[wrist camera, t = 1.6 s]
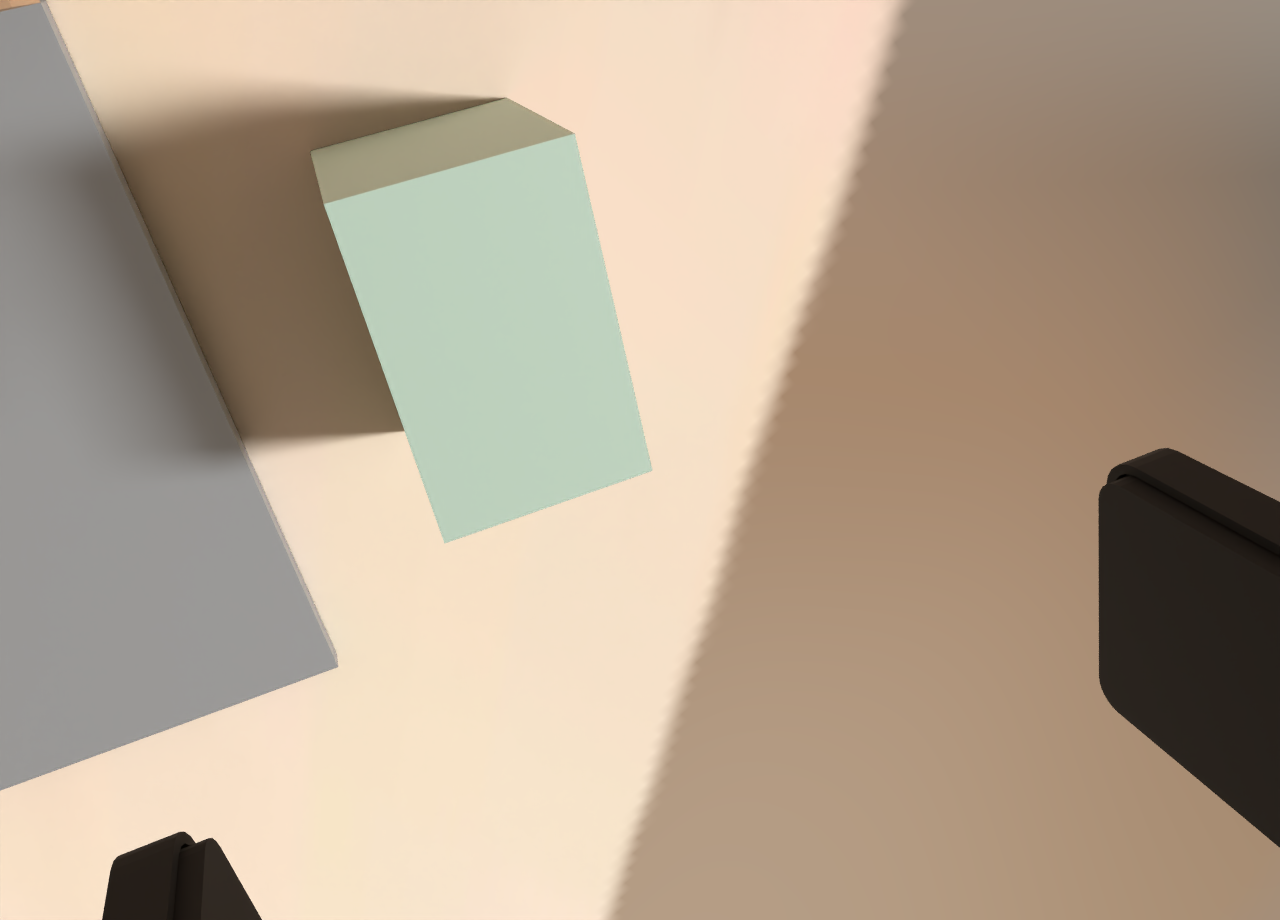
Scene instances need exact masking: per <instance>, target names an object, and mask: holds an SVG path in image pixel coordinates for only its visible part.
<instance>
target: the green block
mask: <svg viewBox="0 0 1280 920" xmlns="http://www.w3.org/2000/svg"><path fill="white" fill-rule="evenodd" d="M310 153H311V157H312V161H313V165H314V169H315V173H316V176H317V180H318V184H319V188H320V192H321V196H322V200H323V203H324V206H325V209H326V212H327V215H328V218H329V220H330V223H331V226H332V229H333V232H334V234H335V237H336V240H337V243H338V246H339V248H340V251H341V254H342V257H343V260H344V263H345V265H346V268H347V271H348V274H349V277H350V279H351V282H352V285H353V288H354V291H355V293H356V296H357V299H358V302H359V305H360V307H361V310H362V313H363V316H364V319H365V321H366V324H367V327H368V330H369V333H370V335H371V338H372V341H373V344H374V347H375V349H376V352H377V355H378V358H379V361H380V363H381V366H382V369H383V372H384V375H385V377H386V380H387V383H388V386H389V389H390V391H391V394H392V397H393V400H394V403H395V405H396V408H397V411H398V414H399V417H400V419H401V422H402V425H403V428H404V431H405V433H406V436H407V439H408V442H409V445H410V447H411V450H412V453H413V456H414V459H415V461H416V464H417V467H418V470H419V473H420V475H421V478H422V481H423V484H424V487H425V489H426V492H427V495H428V498H429V501H430V503H431V506H432V509H433V512H434V515H435V517H436V520H437V523H438V526H439V529H440V531H441V534H442V537H443V540H444V543H447V542H450V541H453V540H456V539H459V538H462V537H464V536H467V535H470V534H473V533H476V532H479V531H482V530H484V529H487V528H490V527H493V526H496V525H499V524H502V523H504V522H507V521H510V520H513V519H516V518H519V517H522V516H524V515H527V514H530V513H533V512H536V511H539V510H542V509H544V508H547V507H550V506H553V505H556V504H559V503H562V502H564V501H567V500H570V499H573V498H576V497H579V496H582V495H584V494H587V493H590V492H593V491H596V490H599V489H602V488H604V487H607V486H610V485H613V484H616V483H619V482H622V481H624V480H627V479H630V478H633V477H636V476H639V475H642V474H644V473H647V472H650V471H652V467H651V462H650V458H649V454H648V449H647V445H646V441H645V436H644V432H643V428H642V423H641V419H640V415H639V410H638V406H637V402H636V397H635V393H634V389H633V384H632V380H631V376H630V371H629V367H628V363H627V358H626V354H625V350H624V345H623V341H622V337H621V332H620V328H619V324H618V319H617V315H616V311H615V306H614V302H613V298H612V293H611V289H610V285H609V280H608V276H607V272H606V267H605V263H604V259H603V254H602V250H601V246H600V241H599V237H598V233H597V228H596V224H595V220H594V215H593V211H592V207H591V202H590V198H589V194H588V189H587V185H586V181H585V176H584V172H583V168H582V163H581V159H580V155H579V150H578V146H577V142H576V137H575V134H574V133H573V132H571V131H569V130H567V129H565V128H563V127H561V126H559V125H557V124H555V123H554V122H552V121H550V120H548V119H546V118H544V117H542V116H540V115H538V114H537V113H535V112H533V111H531V110H529V109H527V108H525V107H523V106H521V105H520V104H518V103H516V102H514V101H512V100H510V99H508V98H504V99H501V100H497V101H493V102H490V103H486V104H482V105H478V106H475V107H471V108H467V109H464V110H460V111H456V112H453V113H449V114H445V115H442V116H438V117H434V118H430V119H427V120H423V121H419V122H416V123H412V124H408V125H405V126H401V127H397V128H394V129H390V130H386V131H383V132H379V133H375V134H371V135H368V136H364V137H360V138H357V139H353V140H349V141H346V142H342V143H338V144H335V145H331V146H327V147H323V148H320V149H316V150H312V151H310Z"/></svg>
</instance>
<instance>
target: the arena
mask: <svg viewBox="0 0 1280 920" xmlns="http://www.w3.org/2000/svg"><path fill="white" fill-rule="evenodd" d="M337 667H338V661H337V654H336V651H335V649H334V647H333V645H332V642H331V640H330V638H329V636H328V633H327V631H326V629H325V627H324V624H323V622H322V620H321V618H320V615H319V613H318V611H317V609H316V606H315V604H314V602H313V600H312V597H311V595H310V593H309V591H308V588H307V586H306V584H305V582H304V579H303V577H302V575H301V573H300V570H299V568H298V566H297V564H296V561H295V559H294V557H293V555H292V552H291V550H290V548H289V546H288V544H287V541H286V539H285V537H284V535H283V532H282V530H281V528H280V526H279V523H278V521H277V519H276V517H275V514H274V512H273V510H272V508H271V505H270V503H269V501H268V499H267V496H266V494H265V492H264V490H263V487H262V485H261V483H260V481H259V478H258V476H257V474H256V472H255V469H254V467H253V465H252V463H251V460H250V458H249V456H248V454H247V451H246V449H245V447H244V445H243V442H242V440H241V438H240V436H239V433H238V431H237V429H236V427H235V424H234V422H233V420H232V418H231V416H230V413H229V411H228V409H227V407H226V404H225V402H224V400H223V398H222V395H221V393H220V391H219V389H218V386H217V384H216V382H215V380H214V377H213V375H212V373H211V371H210V368H209V366H208V364H207V362H206V359H205V357H204V355H203V353H202V350H201V348H200V346H199V344H198V341H197V339H196V337H195V335H194V332H193V330H192V328H191V326H190V323H189V321H188V319H187V317H186V314H185V312H184V310H183V308H182V305H181V303H180V301H179V299H178V296H177V294H176V292H175V290H174V288H173V285H172V283H171V281H170V279H169V276H168V274H167V272H166V270H165V267H164V265H163V263H162V261H161V258H160V256H159V254H158V252H157V249H156V247H155V245H154V243H153V240H152V238H151V236H150V234H149V231H148V229H147V227H146V225H145V222H144V220H143V218H142V216H141V213H140V211H139V209H138V207H137V204H136V202H135V200H134V198H133V195H132V193H131V191H130V189H129V186H128V184H127V182H126V180H125V177H124V175H123V173H122V171H121V168H120V166H119V164H118V162H117V160H116V157H115V155H114V153H113V151H112V148H111V146H110V144H109V142H108V139H107V137H106V135H105V133H104V130H103V128H102V126H101V124H100V121H99V119H98V117H97V115H96V112H95V110H94V108H93V106H92V103H91V101H90V99H89V97H88V94H87V92H86V90H85V88H84V85H83V83H82V81H81V79H80V76H79V74H78V72H77V70H76V67H75V65H74V63H73V61H72V58H71V56H70V54H69V52H68V49H67V47H66V45H65V43H64V40H63V38H62V36H61V34H60V32H59V29H58V27H57V25H56V23H55V20H54V18H53V16H52V14H51V11H50V9H49V7H48V5H47V2H46V0H0V790H3V789H6V788H9V787H11V786H14V785H17V784H19V783H22V782H25V781H28V780H30V779H33V778H36V777H39V776H41V775H44V774H47V773H50V772H52V771H55V770H58V769H60V768H63V767H66V766H69V765H71V764H74V763H77V762H80V761H82V760H85V759H88V758H91V757H93V756H96V755H99V754H101V753H104V752H107V751H110V750H112V749H115V748H118V747H121V746H123V745H126V744H129V743H132V742H134V741H137V740H140V739H142V738H145V737H148V736H151V735H153V734H156V733H159V732H162V731H164V730H167V729H170V728H173V727H175V726H178V725H181V724H184V723H186V722H189V721H192V720H194V719H197V718H200V717H203V716H205V715H208V714H211V713H214V712H216V711H219V710H222V709H225V708H227V707H230V706H233V705H235V704H238V703H241V702H244V701H246V700H249V699H252V698H255V697H257V696H260V695H263V694H266V693H268V692H271V691H274V690H276V689H279V688H282V687H285V686H287V685H290V684H293V683H296V682H298V681H301V680H304V679H307V678H309V677H312V676H315V675H317V674H320V673H323V672H326V671H328V670H331V669H334V668H337Z"/></svg>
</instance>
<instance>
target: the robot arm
mask: <svg viewBox="0 0 1280 920" xmlns="http://www.w3.org/2000/svg"><path fill="white" fill-rule="evenodd" d="M1099 679H1100V684H1101V688H1102V690H1103V693H1104V695H1105V696H1106V698H1107V700H1108V701H1109V703H1110V704H1111V705H1112V706H1113V707H1114V709H1115V710H1116V711H1117V712H1118V713H1120V714H1121V715H1122V716H1123V717H1124V718H1126V719H1127V720H1128V721H1129V722H1130V723H1131V724H1133V725H1134V726H1135V727H1136V728H1137V729H1139V730H1140V731H1141V732H1142V733H1143V734H1145V735H1146V736H1147V737H1148V738H1149V739H1151V740H1152V741H1153V742H1154V743H1156V744H1157V745H1158V746H1159V747H1160V748H1161V749H1163V750H1164V751H1165V752H1166V753H1167V754H1169V755H1170V756H1171V757H1172V758H1173V759H1175V760H1176V761H1177V762H1178V763H1179V764H1181V765H1182V766H1183V767H1184V768H1185V769H1186V770H1188V771H1189V772H1190V773H1191V774H1192V775H1194V776H1195V777H1196V778H1197V779H1199V780H1200V781H1201V782H1202V783H1203V784H1204V785H1206V786H1207V787H1208V788H1209V789H1210V790H1212V791H1213V792H1214V793H1215V794H1217V795H1218V796H1219V797H1220V798H1221V799H1222V800H1223V801H1225V802H1226V803H1227V804H1228V805H1229V806H1231V807H1232V808H1233V809H1234V810H1236V811H1237V812H1238V813H1239V814H1240V815H1241V816H1243V817H1244V818H1245V819H1246V820H1247V821H1249V822H1250V823H1251V824H1252V825H1253V826H1255V827H1256V828H1257V829H1258V830H1259V831H1261V832H1262V833H1263V834H1264V835H1265V836H1267V837H1268V838H1269V839H1270V840H1271V841H1272V842H1274V843H1275V844H1276V845H1277V846H1278V847H1280V502H1279V501H1277V500H1275V499H1273V498H1271V497H1269V496H1266V495H1265V494H1263V493H1261V492H1259V491H1256V490H1255V489H1253V488H1250V487H1249V486H1247V485H1244V484H1243V483H1240V482H1238V481H1237V480H1234V479H1232V478H1230V477H1228V476H1226V475H1224V474H1222V473H1220V472H1218V471H1216V470H1214V469H1212V468H1210V467H1208V466H1206V465H1204V464H1202V463H1200V462H1198V461H1196V460H1194V459H1192V458H1190V457H1188V456H1186V455H1184V454H1182V453H1180V452H1178V451H1175V450H1172V449H1169V448H1163V449H1158V450H1155V451H1153V452H1150V453H1147V454H1145V455H1142V456H1140V457H1137V458H1135V459H1132V460H1129V461H1127V462H1125V463H1122V464H1119V465H1118V466H1116V467H1114V468H1113V469H1112V470H1111V471H1110V473H1109V475H1108V479H1107V484H1106V485H1105V486H1103V487H1102V489H1101V491H1100V494H1099ZM102 920H262V919H261V917H260V916H259V914H258V912H257V910H256V909H255V907H254V905H253V903H252V902H251V900H250V898H249V896H248V895H247V893H246V891H245V889H244V888H243V886H242V884H241V882H240V881H239V879H238V877H237V875H236V874H235V872H234V870H233V868H232V867H231V865H230V863H229V861H228V860H227V858H226V856H225V854H224V853H223V851H222V849H221V847H220V846H219V845H218V843H217V842H216V841H215V840H214V839H213V838H208V839H206V840H203V841H201V842H198V843H195V842H194V840H193V839H192V838H191V836H190V835H188V834H187V833H186V832H178V833H176V834H173V835H171V836H168V837H166V838H163V839H160V840H158V841H155V842H153V843H150V844H148V845H145V846H143V847H140V848H137V849H135V850H132V851H130V852H127V853H125V854H122V855H120V856H118V857H117V858H116V859H115V860H114V861H113V864H112V867H111V871H110V877H109V882H108V888H107V894H106V900H105V906H104V912H103V918H102Z"/></svg>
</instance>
